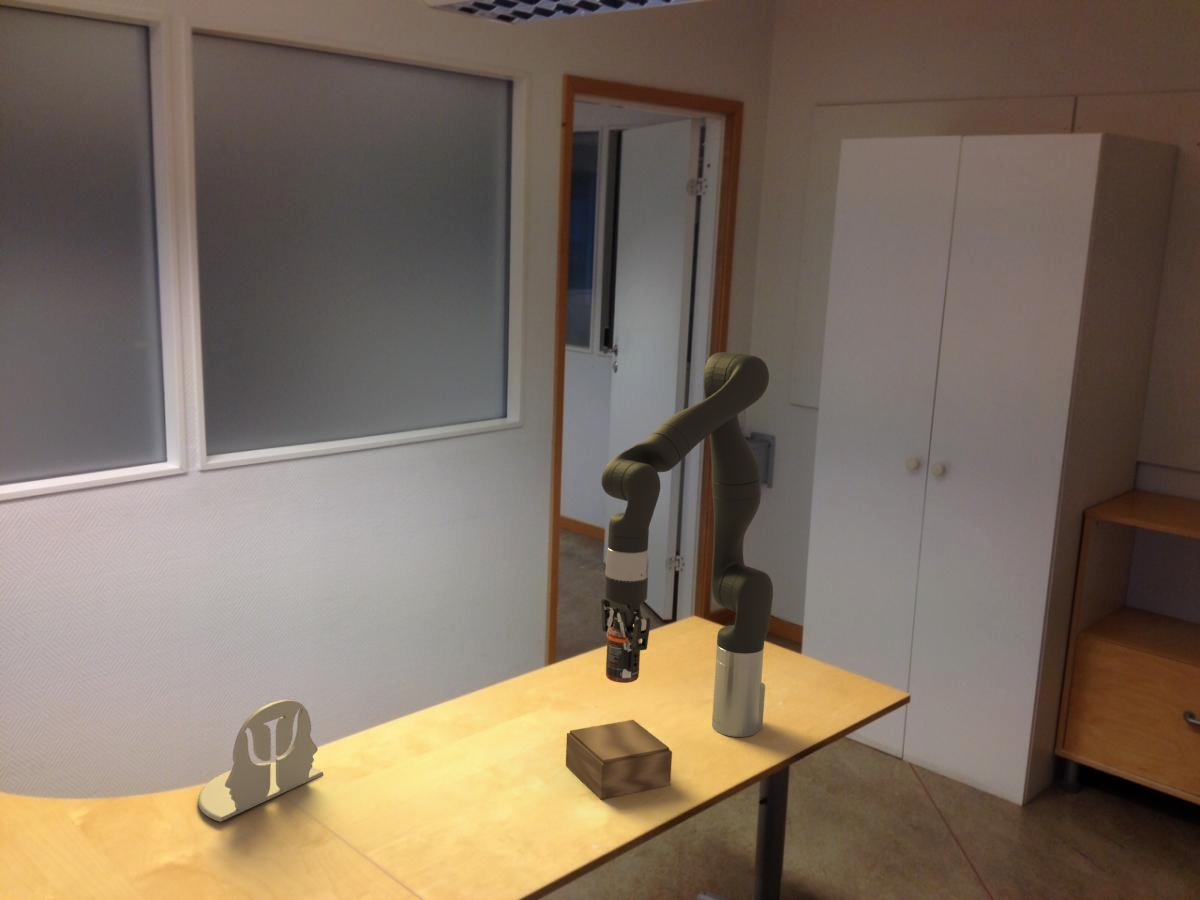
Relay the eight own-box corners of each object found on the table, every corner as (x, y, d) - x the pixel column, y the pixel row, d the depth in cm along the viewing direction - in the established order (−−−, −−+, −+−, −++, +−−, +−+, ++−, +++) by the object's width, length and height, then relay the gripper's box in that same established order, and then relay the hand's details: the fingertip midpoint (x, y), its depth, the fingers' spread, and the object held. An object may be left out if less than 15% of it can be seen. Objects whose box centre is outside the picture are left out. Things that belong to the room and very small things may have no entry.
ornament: (220, 822, 179) (218, 724, 176) (170, 797, 186) (168, 703, 183) (325, 774, 197) (325, 684, 194) (275, 753, 204) (275, 666, 201)
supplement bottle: (635, 685, 194) (638, 623, 192) (602, 682, 196) (605, 620, 194) (641, 673, 200) (644, 613, 198) (609, 670, 201) (611, 610, 199)
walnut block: (632, 753, 210) (633, 718, 209) (670, 785, 198) (672, 748, 197) (565, 766, 204) (567, 730, 203) (600, 799, 192) (602, 761, 190)
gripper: (666, 582, 190) (661, 675, 193) (625, 560, 203) (622, 648, 205) (627, 586, 187) (623, 681, 189) (589, 564, 199) (585, 653, 202)
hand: (622, 663), depth 197 cm, fingers closed on supplement bottle, 6 cm apart
